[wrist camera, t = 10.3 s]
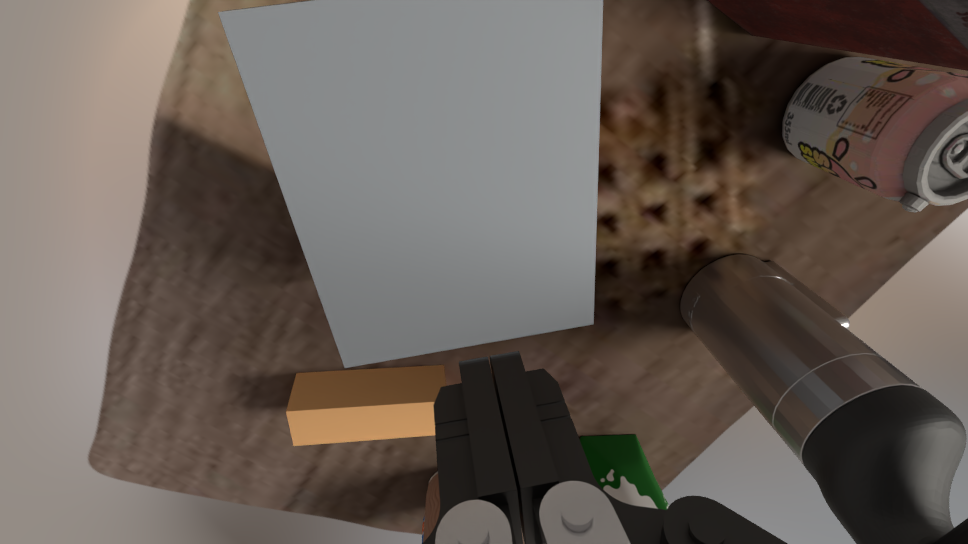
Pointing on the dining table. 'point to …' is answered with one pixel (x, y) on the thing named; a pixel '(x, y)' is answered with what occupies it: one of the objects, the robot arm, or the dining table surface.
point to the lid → (433, 162)
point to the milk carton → (623, 470)
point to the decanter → (863, 26)
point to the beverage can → (884, 129)
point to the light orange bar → (364, 404)
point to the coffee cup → (431, 507)
